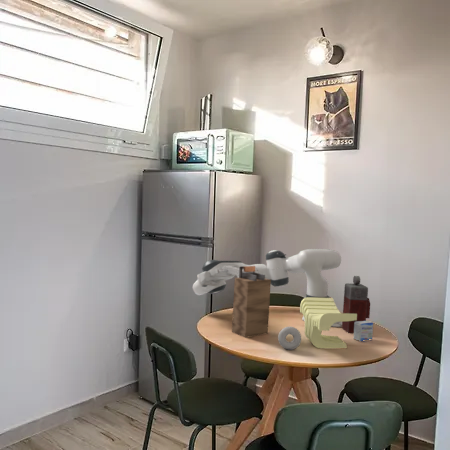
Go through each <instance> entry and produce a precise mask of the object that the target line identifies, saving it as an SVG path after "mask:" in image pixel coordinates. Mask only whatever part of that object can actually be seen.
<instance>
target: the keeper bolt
mask: <svg viewBox="0 0 450 450" xmlns="http://www.w3.org/2000/svg"><path fill="white" fill-rule="evenodd" d="M221 270H222V272H226V273H230V274H233V275H236V277H237V276H239V268H236V267H232V266H223V268H222V269H221ZM253 271H255V266H245V267H244V269H242V272H244V273H248V274H252V275H253Z"/></svg>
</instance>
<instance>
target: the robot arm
mask: <svg viewBox="0 0 450 450" xmlns="http://www.w3.org/2000/svg"><path fill="white" fill-rule="evenodd" d="M265 261H266V264H264V263H254V264H246V263H244V262H242V261H240V260H218V259H217V260H216V259H211V260H210V259H209V260H206V261H205V262H204V263H203V264H202V268H201V270H202V272H200V273H198V274H197V275H196V276H197V279H196V281H195V282H194V283H193V284H192V291H193V292H194V294H195V295H197V296H203V295H206V294H211V295H216V294H218V293H221V292H222V291H224V290H225V288H226V287H227V283H226V281H229V280H231V279H234V278H239V276H237V275H233V274H230V273H226V272H222V268H223V266H232V267H236V268H240V267H242V266H255V273H259V274H263V275H265V278H266V279H270V280H271V285H270V286H273V287H276V288H283V287H285V286H286V285H288V284H289V281H290V280H289V279H290V278H289V275H288V273H292V274H303V273H305V277H306V294H305V298H307V297H314V298H332V296H329V293H328V292H329V281H328V280H327V278H326V277H325V276H323V275H322V271H327V270H332V269H337V268H339V267H340V265H341V264H342V263H341V262H342V257H341V254H340V252H339V251H337V250H333V249H331V248H330V249H329V248H322V249H321V248H307V249H304V250H300V251H299V252H298V253H297V254H294V255H292V256H289V257H287V254H285V253H284V252H283V251H281V250H278V249H277V250H276V249H274V250H273V249H272V250H270V251H269V252H267V253H266V254H265ZM301 320H302V321H304V322H305V318H304V315H303V314H302V318H301ZM331 327H334V328H342V322H336V323H334V324H333V325H332V326H331Z"/></svg>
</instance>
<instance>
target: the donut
mask: <svg viewBox="0 0 450 450" xmlns="http://www.w3.org/2000/svg"><path fill="white" fill-rule="evenodd" d="M289 335H291V336H292V337H293V339H292V340H291V341H288V340H287V336H289ZM277 339H278V343H279V346H281V347H282V348H283V349H284V350H287V351H288V350H289V351H290V350H294V349H297V348H298V347H299V346H300V345H301V342H302V334H301V332H300V331H299V329H298V328H296V327H295V326H286V327H283V328H282V329H281V330H280V331H279V333H278V335H277Z"/></svg>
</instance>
